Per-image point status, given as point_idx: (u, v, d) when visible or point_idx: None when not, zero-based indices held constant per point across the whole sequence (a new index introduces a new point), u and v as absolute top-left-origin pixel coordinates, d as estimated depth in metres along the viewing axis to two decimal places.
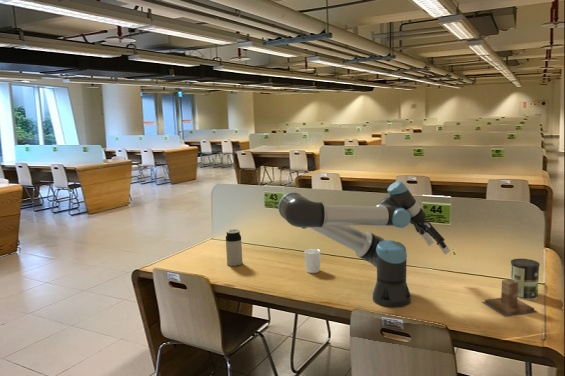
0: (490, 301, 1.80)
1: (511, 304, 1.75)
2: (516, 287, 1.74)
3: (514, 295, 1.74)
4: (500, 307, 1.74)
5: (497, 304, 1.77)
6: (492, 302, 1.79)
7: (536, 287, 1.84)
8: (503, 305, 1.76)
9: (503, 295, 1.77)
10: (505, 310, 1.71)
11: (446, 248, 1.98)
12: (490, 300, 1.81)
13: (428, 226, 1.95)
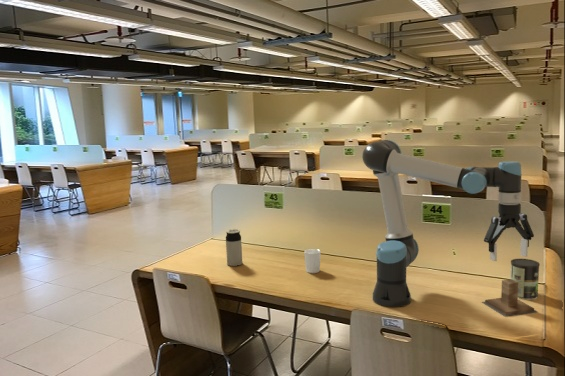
0: (490, 301, 1.80)
1: (511, 304, 1.75)
2: (516, 287, 1.74)
3: (514, 295, 1.74)
4: (500, 307, 1.74)
5: (497, 304, 1.77)
6: (492, 302, 1.79)
7: (536, 287, 1.84)
8: (503, 305, 1.76)
9: (503, 295, 1.77)
10: (505, 310, 1.71)
11: (493, 255, 1.73)
12: (490, 300, 1.81)
13: (493, 220, 1.72)
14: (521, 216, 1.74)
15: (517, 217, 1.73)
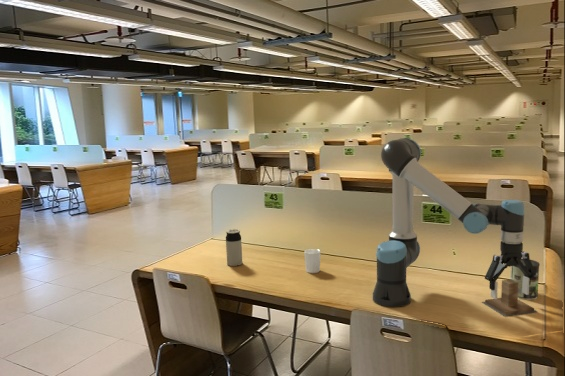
0: (490, 301, 1.80)
1: (511, 304, 1.75)
2: (516, 287, 1.74)
3: (514, 295, 1.74)
4: (500, 307, 1.74)
5: (497, 304, 1.77)
6: (492, 302, 1.79)
7: (536, 287, 1.84)
8: (503, 305, 1.76)
9: (503, 295, 1.77)
10: (505, 310, 1.71)
11: (494, 293, 1.74)
12: (490, 300, 1.81)
13: (494, 258, 1.73)
14: (523, 254, 1.75)
15: (519, 256, 1.73)
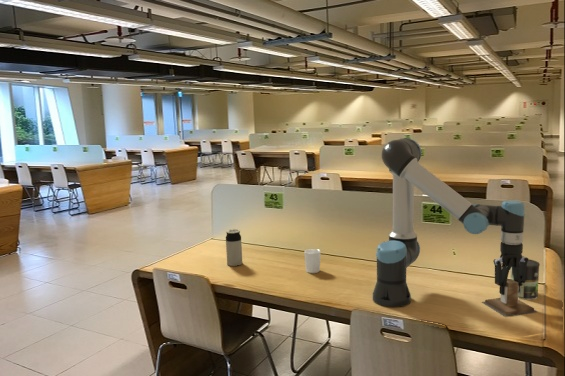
0: (490, 301, 1.80)
1: (511, 304, 1.75)
2: (516, 287, 1.74)
3: (514, 295, 1.74)
4: (500, 307, 1.74)
5: (497, 304, 1.77)
6: (492, 302, 1.79)
7: (536, 287, 1.84)
8: (503, 305, 1.76)
9: None
10: (505, 310, 1.71)
11: (503, 297, 1.75)
12: (490, 300, 1.81)
13: (495, 263, 1.73)
14: (523, 258, 1.75)
15: (519, 256, 1.73)
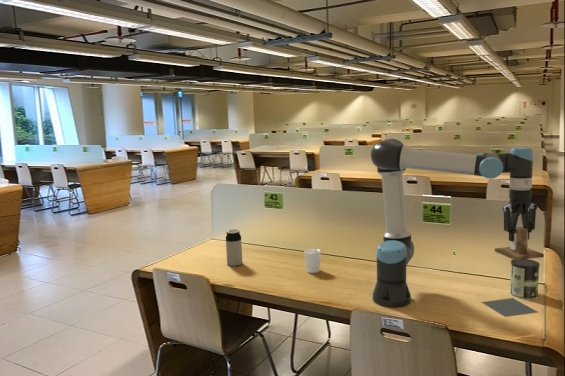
0: (499, 249, 1.81)
1: (520, 250, 1.76)
2: (525, 233, 1.75)
3: (523, 242, 1.75)
4: (509, 253, 1.75)
5: (506, 251, 1.78)
6: (501, 250, 1.80)
7: (536, 287, 1.84)
8: (512, 252, 1.77)
9: None
10: (514, 255, 1.73)
11: (513, 244, 1.77)
12: (499, 248, 1.82)
13: (504, 209, 1.75)
14: (532, 204, 1.76)
15: (528, 202, 1.75)
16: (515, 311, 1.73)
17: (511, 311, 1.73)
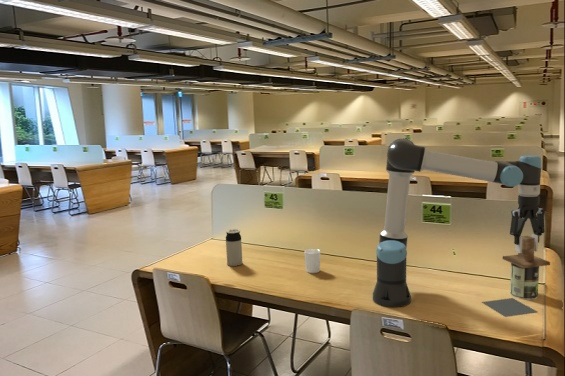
0: (507, 257, 1.89)
1: (527, 258, 1.84)
2: (533, 242, 1.83)
3: (531, 250, 1.84)
4: (517, 261, 1.83)
5: (514, 259, 1.86)
6: (509, 258, 1.88)
7: (536, 287, 1.84)
8: (520, 260, 1.85)
9: None
10: (522, 263, 1.81)
11: (518, 247, 1.84)
12: (507, 256, 1.90)
13: (513, 214, 1.82)
14: (539, 209, 1.84)
15: (536, 208, 1.83)
16: (515, 311, 1.73)
17: (511, 311, 1.73)
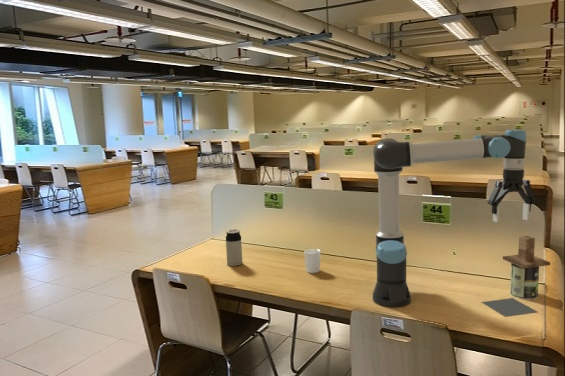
0: (507, 257, 1.89)
1: (528, 258, 1.84)
2: (533, 242, 1.83)
3: (531, 250, 1.84)
4: (517, 261, 1.83)
5: (514, 259, 1.86)
6: (509, 258, 1.88)
7: (536, 287, 1.84)
8: (520, 260, 1.85)
9: (520, 251, 1.86)
10: (522, 264, 1.81)
11: (495, 217, 1.86)
12: (507, 256, 1.90)
13: (497, 184, 1.85)
14: (524, 182, 1.86)
15: (520, 182, 1.85)
16: (515, 311, 1.73)
17: (511, 311, 1.73)
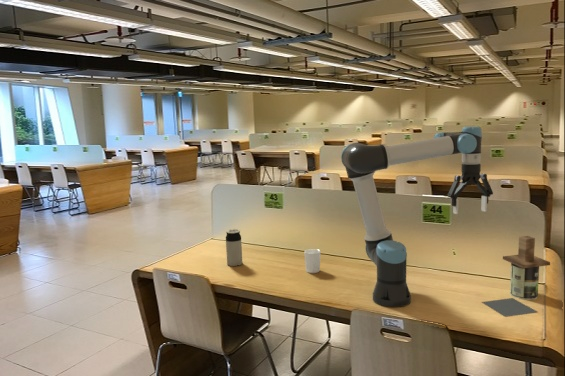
0: (507, 257, 1.89)
1: (528, 258, 1.84)
2: (533, 242, 1.83)
3: (531, 250, 1.84)
4: (517, 261, 1.83)
5: (514, 259, 1.86)
6: (509, 258, 1.88)
7: (536, 287, 1.84)
8: (520, 260, 1.85)
9: (520, 251, 1.86)
10: (522, 264, 1.81)
11: (455, 209, 1.97)
12: (507, 256, 1.90)
13: (455, 178, 1.96)
14: (481, 175, 1.98)
15: (477, 176, 1.97)
16: (515, 311, 1.73)
17: (511, 311, 1.73)
